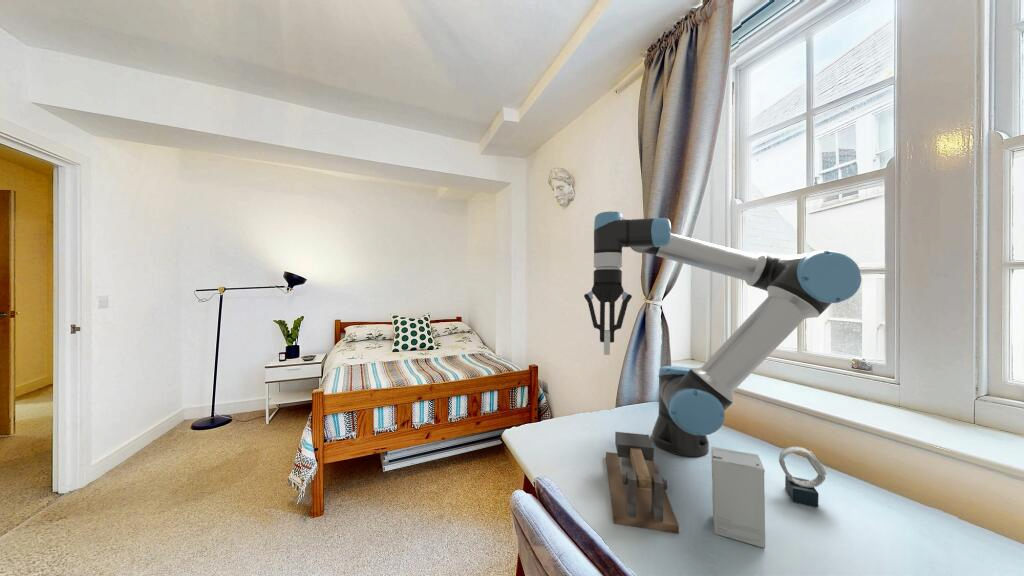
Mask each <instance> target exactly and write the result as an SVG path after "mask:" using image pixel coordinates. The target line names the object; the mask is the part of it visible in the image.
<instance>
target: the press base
mask: <svg viewBox="0 0 1024 576" xmlns="http://www.w3.org/2000/svg"><path fill="white" fill-rule="evenodd" d="M605 461H606V469H607V478H608V479H607V480H608V487H609V495H610V496H609V497H610V503H611V512H612V521H613V524H615V525H622V526H629V527H635V528H640V529H641V528H642V529H647V530H655V531H660V532H667V533H674V534H679V533H680V530H679V528H680V525H679V523H678V520H677V517H676V514H675V513H674V509H673V507H672V504H671V501H670V499H669V496H668V494H667V492H666V491H668V482H667V479H664V478H662V475H661V474H659V470H658V468H657V465H656V464H655V460H654V461H650V460H645V462H646V465H647V468H648V471H649V474H650V476H651V480H652V489H651V491H650V490H643V489H639V488H638V485H637V481H636V476H635V473H634V469H633V465H632V461H631V458H624V457H618V455H617V452H610V451H609V452H608V451H606V452H605Z"/></svg>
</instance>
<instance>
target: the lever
mask: <svg viewBox="0 0 1024 576" xmlns="http://www.w3.org/2000/svg"><path fill="white" fill-rule="evenodd" d="M614 437H615V440H614V441H615V449H616V453H617V455H618V457H624V458H631V461H632V465H633V469H634V473H635V476H636V481H637V485H638V488H639V489H643V490H650V491H651V489H652V480H651V476H650V474H649V471H648V468H647V465H646V462H645V460H650V461H654V462H655V460H654V459H655V458H654V456H655V455H654V454H655V452H654V450H655V449H654V445H653V444H652V440H651V438H650V436H649V434H644V433H643V434H641V433H633V432H632V433H631V432H621V431H615V436H614Z"/></svg>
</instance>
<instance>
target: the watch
mask: <svg viewBox="0 0 1024 576" xmlns="http://www.w3.org/2000/svg"><path fill="white" fill-rule="evenodd" d="M793 453H801V454H802V453H803V454H804V455H805V457H806V459H807V461H808V462H809V464H810V465H811V467H812V468H813V470H814V471H815V472H816V474H817V476H816V477H815V478H813V479H811V480H810V479H805V478H802V477H795V476H793V474H791V473H790V472H789V471H788V468H787V466H786V461H785V458H786V456H788V455H789V454H790V455H791V454H793ZM778 459H779V460H778V462H779V465H780V468H781V469H782V471H783V473H784V474H785V477H784V478H785V479H784V482H785V484H784V485H785V486H784V489H785V490H786V492H787V494H788V496H789V498H790V499H791V502H792V503H794V504H800V505H804V506H807V507H808V506H809V507H812V508H816V507H818V508H819V492H818V491H817V489H816V488H817V487H819V486H821V485H822V484H823V483H824V482H825V480H826V476H827V474H828V473H827V472H826V470H825V468H824V467H823V465H822V463H821V462H820V461H819V459H818V458H817V456H816V455H815V454H814V452H813V451H812V450H808V449H807V448H804V447H802V446H788V447H786V448H784V449H782V451H781V452H780V454H779V457H778Z"/></svg>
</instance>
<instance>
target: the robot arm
mask: <svg viewBox="0 0 1024 576" xmlns="http://www.w3.org/2000/svg"><path fill="white" fill-rule="evenodd" d="M593 224H594V225H593V268H595V269H593V286H592V288H591V291H589V292H586V293H584V295H583V297H584V299H585V300H586V302H587V305H588V309H589V313H590V318H591V322H592V325H593V328H594V329H597V330H599V341H600V343H603V355H604V356H610V355H611V344H612V343H614V342H615V331H616V330H620V329H622V328H623V327H622V326H623V323H624V320H625V315H626V310H627V307H628V304H629V302H630V301H631V299H632V298H633V296H632V294H629V293H628V292H626V291H625V289H624V288H623V286H622V285H623V281H622V280H623V279H622V276H623V272H622V270H621V268H622V267H623V248H630V249H631V250H632V251H634V252H636V253H638V254H643V253H644V254H647V255H652V256H656V257H659V258H662V259H663V258H664V259H666V260H670V261H674V262H677V263H682V264H684V265H687V266H692V267H695V268H699V269H703V270H706V271H709V272H713V273H717V274H721V275H723V276H728V277H731V278H735V279H738V280H741V281H745V283H746V285H747V286H750V287H753V288H757V289H760V290H763V291H765V292H767V297H766V298H765V300H763V301H762V303H761V304H759V306H758V307H757V308H756V309H755V310H754V311H753V312H752V313H751V314H750V315H749V316H748V318H746V319H745V321H743V323H742V324H741V325H740V326H739V327H738V328H737V329H736V330H735V331H734V332H733V333H732V334H731V335H730V336H729V337H728V338H727V340H725V342H723V343H722V344H721V346H720V347H719V348H717V350H716V351H715V352H714V353H713V354H712V355H711V356H710V357H709V358H708V359H707V360H706V362H705V363H704V364H703V365H702V366H700V367H687V366H686V367H685V366H677V365H676V366H674V365H665V366H663V365H662V366H661V367H660V368H659V372H658V415H657V419H656V421H655V423H654V426H653V429H652V432H651V435H652V436H651V439H652V440H651V441H652V442H653V444H655V446H656V447H658V448H660V449H661V450H664V451H666V452H668V453H671V454H674V455H680V456H684V457H702V456H705V455H707V454H708V453H709V449H710V446H709V445H710V444H709V443H710V442H709V439H708V435H711V434H714V433H715V432H717V431H719V430H720V429H721V427H722V426H723V424H724V421H725V418H726V417H725V416H726V414H725V411H726V410H727V409H728V408H729V407H730V406H732V404H733V403H734V401H735V400H734V395H733V394H734V391H735V390H736V389H738V387H739V386H741V384H742V383H743V382H744V381H745V380H746V379H747V378H749V376H750V375H751V374H752V373H753V372H754V371H755V370H756V369H757V368H758V367H759V366H760V365H761V364H762V363H763V362H764V361H765V360H766V359H767V358H768V357H769V356H770V355H771V354H772V353H773V352H774V351H775V350H776V348H777V347H778V346H780V345H781V343H783V342H784V341H786V340H785V339H786V338H788V337H789V335H791V334H792V333H793V331H794V330H796V329H797V328H798V327H799V326H800V325H801V323H802V322H803V321H804V320H806V319H811V318H819V316H821V314H823V312H825V311H826V310H827V309H828V307H831V305H832V304H837V303H838V304H839V303H841V302H844V301H847V300H848V299H850V298H852V297H853V296H855V295H856V293H857V292H858V290H859V289H860V287H861V283H862V275H861V271H860V270H861V269H860V268H859V266H858V264H857V263H856V261H854V260H853V259H852V258H851V257H850V256H848V255H846V254H845V253H842V252H839V251H834V250H822V249H821V250H814V251H811V252H808V253H801V254H793V255H777V254H776V255H775V254H769V253H765V252H760V253H758V254H754V253H749V252H745V251H742V250H738V249H735V248H731V247H726V246H723V245H718V244H715V243H710V242H706V241H702V240H699V239H696V238H692V237H691V238H690V237H688V236H687V237H686V236H684V235H679V234H674V233H672V224H671V221H670V219H669V218H668V217H667V218H666V217H653V218H638V219H637V218H636V219H633V218H632V219H625V218H624V217H623V213H622V212H621V211H612V210H611V211H602V212H599V213H597V214H596V215H595V216H594V223H593ZM593 295H594V296H593ZM621 295H622V296H621ZM594 297H595V298H596V299H597V300H598V302H599V323H598V320H597V315H596V312H595V308H594V303H593V298H594ZM620 297H621V299H622V302H621V305H620V310H619V313H618V316H617V321H616V322H615V317H616V315H615V311H616V309H615V308H616V303H617V301H618V299H619V298H620ZM606 303H609V304H608V305H609V310H608V311H609V314H608V315H609V316H608V318H609V319H608V320H609V324H608V325H609V327H608V328H609V329H606V323H605V322H606V321H605V320H606Z"/></svg>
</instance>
